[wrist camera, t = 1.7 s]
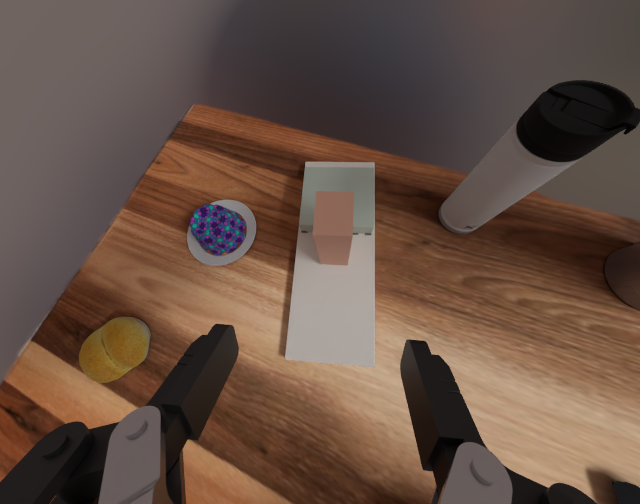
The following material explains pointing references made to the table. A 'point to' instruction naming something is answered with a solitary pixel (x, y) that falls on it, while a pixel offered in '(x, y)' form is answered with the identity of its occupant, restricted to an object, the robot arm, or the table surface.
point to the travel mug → (539, 149)
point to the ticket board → (335, 275)
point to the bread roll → (114, 349)
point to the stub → (333, 226)
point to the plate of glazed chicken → (626, 493)
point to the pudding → (220, 232)
